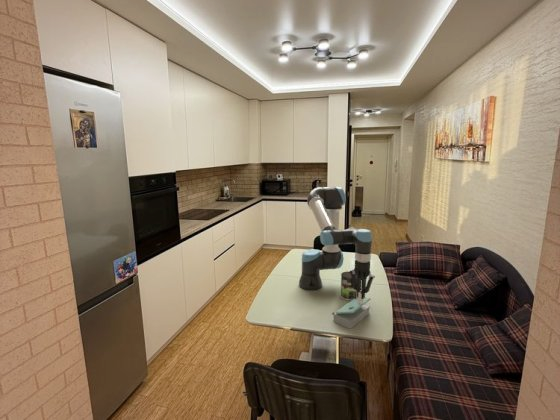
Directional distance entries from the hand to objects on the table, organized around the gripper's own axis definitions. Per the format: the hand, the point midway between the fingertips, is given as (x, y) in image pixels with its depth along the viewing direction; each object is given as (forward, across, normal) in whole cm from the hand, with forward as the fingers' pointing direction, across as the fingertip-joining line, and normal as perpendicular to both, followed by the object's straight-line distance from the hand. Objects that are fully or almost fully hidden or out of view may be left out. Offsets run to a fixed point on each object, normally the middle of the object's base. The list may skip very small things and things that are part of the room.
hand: (360, 303), depth 156 cm
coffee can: (+10, -18, +20) cm, 28 cm away
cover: (+3, -4, 0) cm, 5 cm away
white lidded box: (+10, -5, 0) cm, 11 cm away
